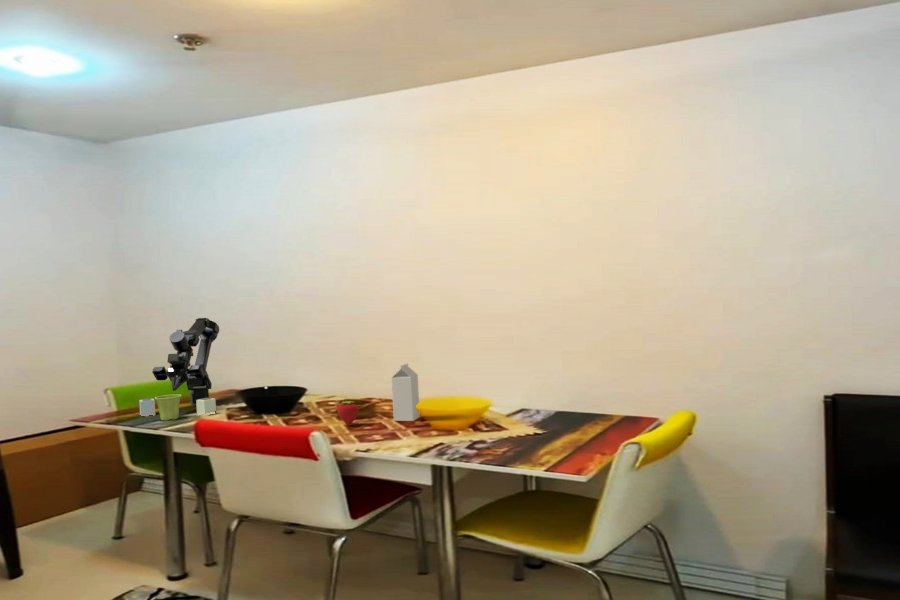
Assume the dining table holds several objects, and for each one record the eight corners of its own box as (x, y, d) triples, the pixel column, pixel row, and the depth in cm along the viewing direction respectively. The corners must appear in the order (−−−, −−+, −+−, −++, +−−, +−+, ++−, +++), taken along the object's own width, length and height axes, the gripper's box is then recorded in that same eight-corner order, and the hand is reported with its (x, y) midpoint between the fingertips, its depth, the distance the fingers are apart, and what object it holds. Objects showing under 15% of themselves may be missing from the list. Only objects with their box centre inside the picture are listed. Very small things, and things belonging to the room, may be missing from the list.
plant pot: (150, 421, 253) (149, 398, 253) (166, 416, 262) (165, 394, 262) (172, 421, 250) (171, 398, 250) (187, 416, 260) (186, 394, 259)
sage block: (208, 413, 266) (207, 397, 266) (216, 414, 263) (215, 397, 263) (197, 415, 262) (196, 399, 261) (204, 416, 259) (204, 400, 259)
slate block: (153, 413, 271) (152, 397, 271) (155, 415, 266) (154, 399, 266) (140, 415, 268) (139, 399, 268) (141, 417, 264) (140, 400, 264)
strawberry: (352, 428, 223) (351, 398, 223) (334, 427, 227) (332, 397, 226) (363, 424, 229) (361, 395, 228) (344, 423, 232) (343, 394, 232)
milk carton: (419, 417, 237) (417, 363, 237) (413, 421, 230) (410, 365, 230) (400, 417, 239) (398, 363, 238) (393, 421, 232) (390, 365, 232)
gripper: (152, 346, 266) (142, 378, 256) (200, 344, 267) (191, 376, 256) (162, 364, 275) (152, 395, 264) (208, 362, 275) (200, 393, 264)
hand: (173, 390), depth 262 cm, fingers closed
